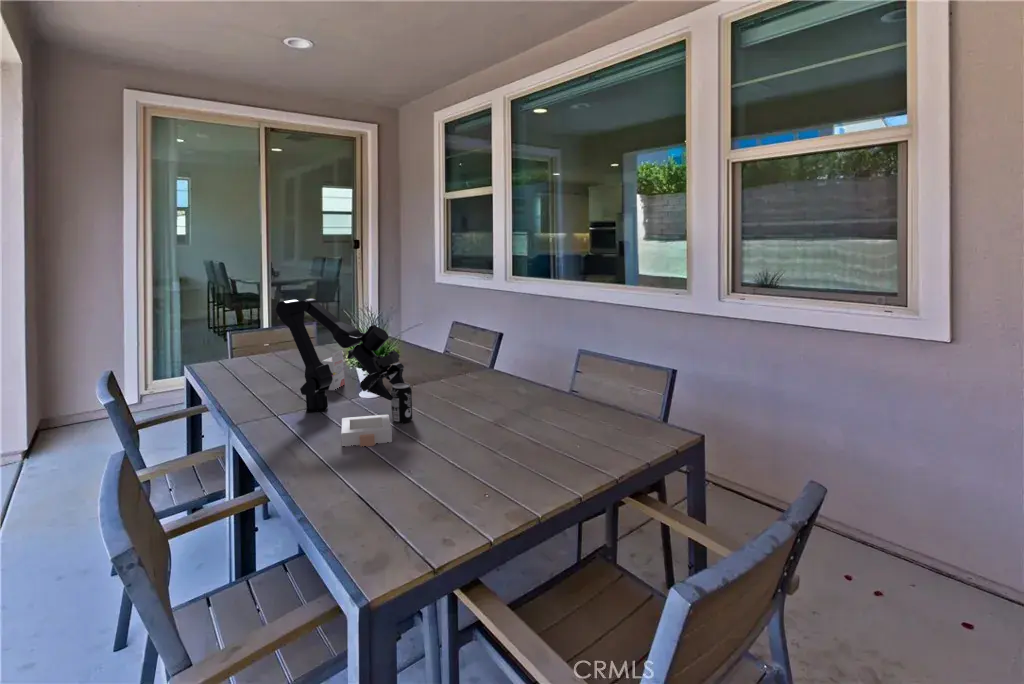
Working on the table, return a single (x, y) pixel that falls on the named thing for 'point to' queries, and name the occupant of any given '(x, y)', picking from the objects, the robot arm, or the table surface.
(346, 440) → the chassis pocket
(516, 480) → the table surface
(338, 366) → the ink cartridge box
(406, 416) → the beverage can
